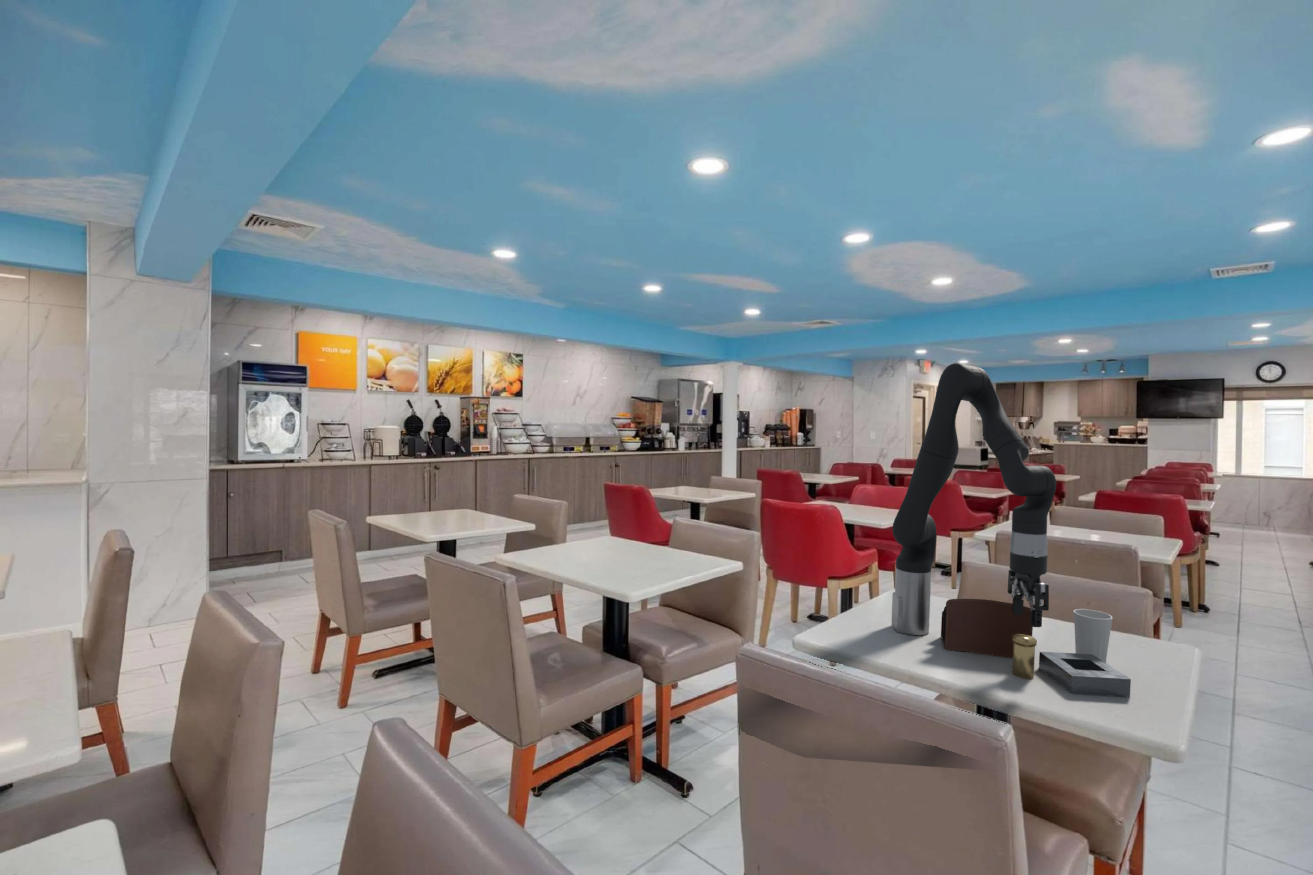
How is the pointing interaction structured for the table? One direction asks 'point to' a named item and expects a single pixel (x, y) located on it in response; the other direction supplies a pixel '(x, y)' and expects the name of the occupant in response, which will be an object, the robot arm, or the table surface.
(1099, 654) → the cup
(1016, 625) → the letter holder
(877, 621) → the table surface
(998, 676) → the table surface
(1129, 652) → the table surface
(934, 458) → the robot arm
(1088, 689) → the grey hollow block
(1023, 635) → the fitting
